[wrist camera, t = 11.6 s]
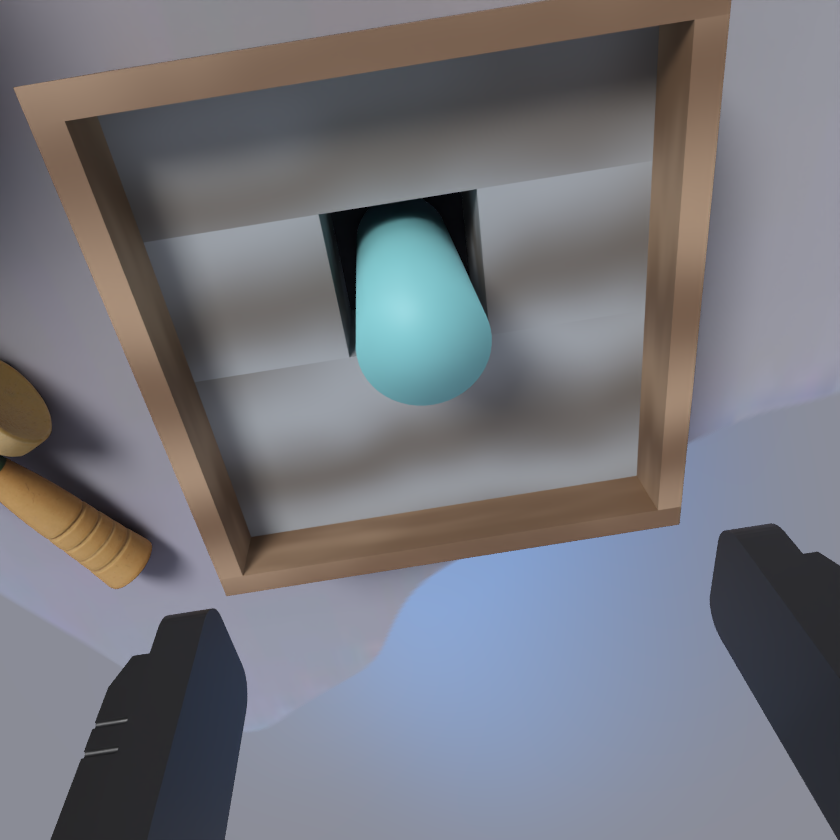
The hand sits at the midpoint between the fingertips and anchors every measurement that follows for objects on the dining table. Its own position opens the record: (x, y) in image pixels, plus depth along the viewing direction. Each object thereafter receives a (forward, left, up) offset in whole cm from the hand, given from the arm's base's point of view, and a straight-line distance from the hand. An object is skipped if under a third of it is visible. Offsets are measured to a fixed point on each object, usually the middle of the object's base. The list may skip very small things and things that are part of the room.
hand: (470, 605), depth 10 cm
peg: (0, 0, -21) cm, 21 cm away
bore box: (+2, 0, -21) cm, 21 cm away
